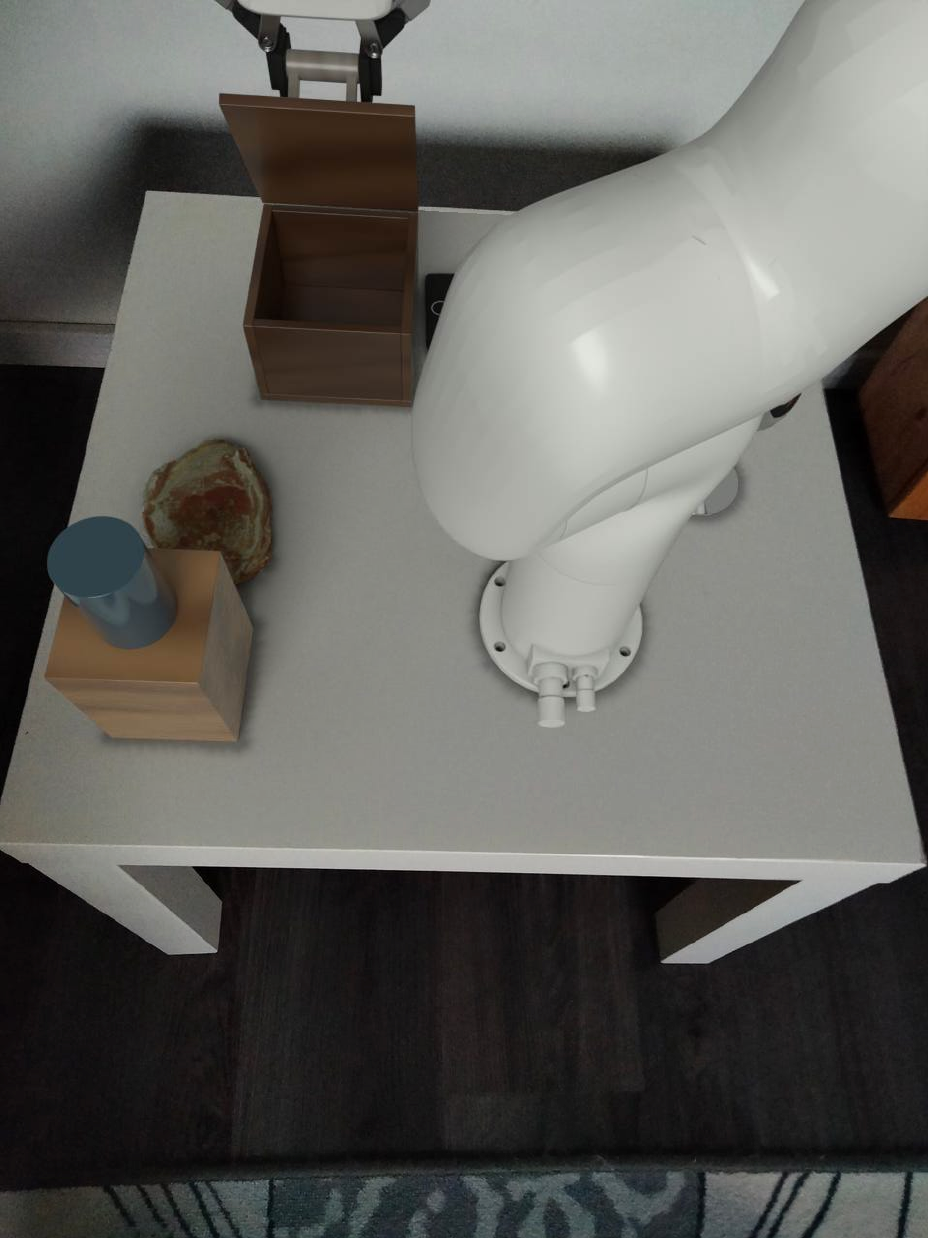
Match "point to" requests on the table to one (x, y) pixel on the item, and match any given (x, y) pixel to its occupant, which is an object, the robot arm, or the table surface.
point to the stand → (164, 660)
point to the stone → (212, 507)
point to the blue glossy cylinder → (113, 581)
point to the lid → (326, 141)
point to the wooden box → (334, 305)
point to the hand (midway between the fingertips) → (328, 97)
